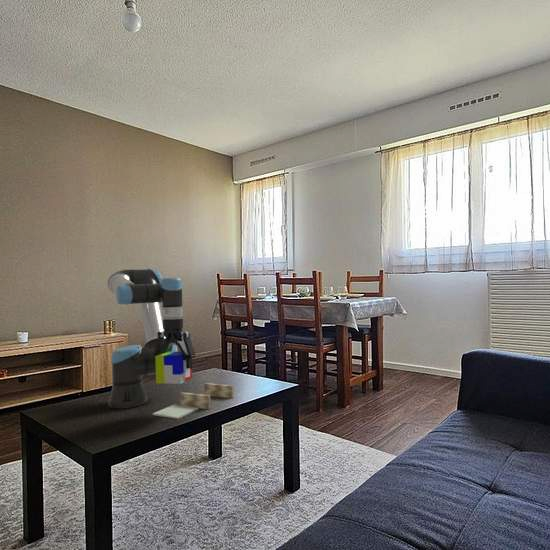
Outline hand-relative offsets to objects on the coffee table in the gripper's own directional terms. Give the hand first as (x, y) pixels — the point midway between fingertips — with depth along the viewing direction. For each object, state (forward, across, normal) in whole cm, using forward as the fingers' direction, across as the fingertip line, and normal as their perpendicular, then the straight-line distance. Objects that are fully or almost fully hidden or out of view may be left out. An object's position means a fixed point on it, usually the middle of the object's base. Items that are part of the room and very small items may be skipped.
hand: (174, 376), depth 158 cm
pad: (+14, 0, 0) cm, 14 cm away
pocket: (+14, +3, +16) cm, 21 cm away
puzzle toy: (+2, 0, 0) cm, 2 cm away
